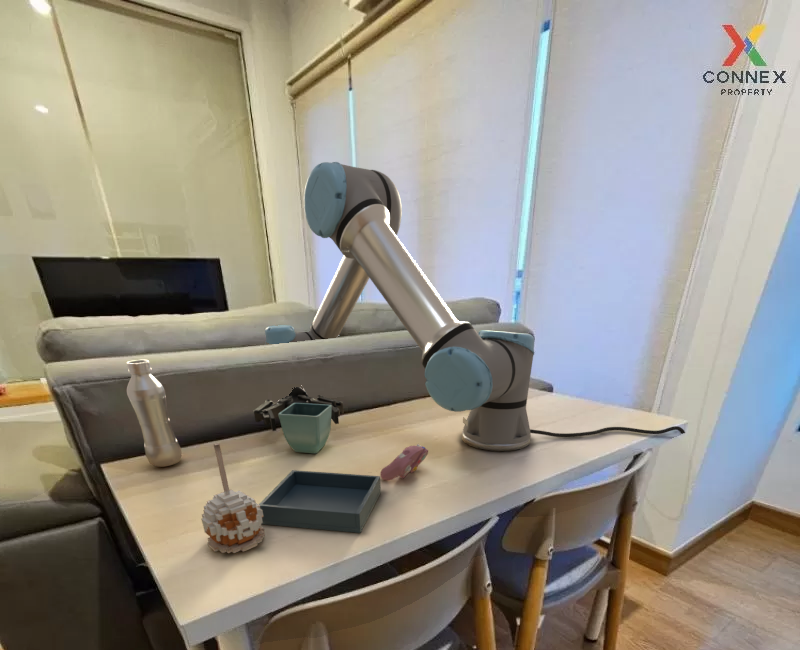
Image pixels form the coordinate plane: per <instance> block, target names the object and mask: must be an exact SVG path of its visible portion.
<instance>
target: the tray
mask: <svg viewBox="0 0 800 650" xmlns="http://www.w3.org/2000/svg"><path fill="white" fill-rule="evenodd" d="M381 491H382V490H381V476H380V475H368V474H356V473H355V474H354V473H339V472H337V473H336V472H325V471H311V470H298V469H297V470H296V469H292V470H290V472H289V473H288V474H287V475H286V476H285V477H284V478H283V479H282V480H281V481H280V482H279V483H278V484H277V485H276V486H275V487H274V488H273V489H272V490H271V491H270V492H269V493H268V494H267V495H266V496H265V497H264V498H263V499H262V500H261V501H260V502H259V503H258V505H260V509H261V510H262V511H263V516H264V517H262V521H263V523H261V525H268V526H269V525H270V526H278V527H289V528H301V529H313V530H323V531H334V532H346V533H355V534H361V533H362V531H363V530H364V527H365V525H366V523H367V521H368V519H369V517H370V515H371V513H372V511H373V510H374V507H375V505H376V503H377V501H378V499H379V497H380V495H381V493H382V492H381Z"/></svg>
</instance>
